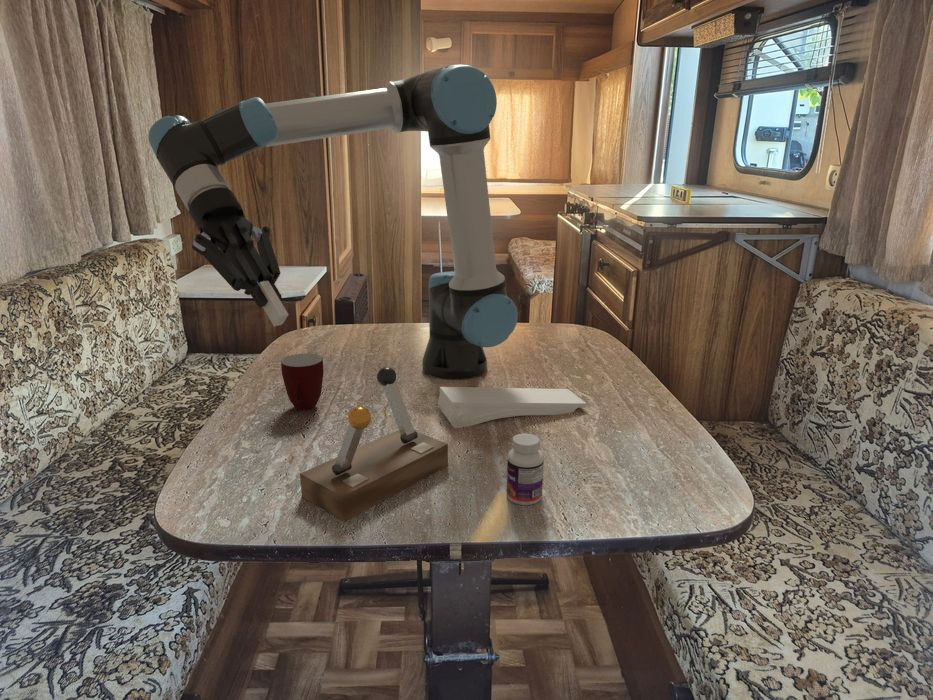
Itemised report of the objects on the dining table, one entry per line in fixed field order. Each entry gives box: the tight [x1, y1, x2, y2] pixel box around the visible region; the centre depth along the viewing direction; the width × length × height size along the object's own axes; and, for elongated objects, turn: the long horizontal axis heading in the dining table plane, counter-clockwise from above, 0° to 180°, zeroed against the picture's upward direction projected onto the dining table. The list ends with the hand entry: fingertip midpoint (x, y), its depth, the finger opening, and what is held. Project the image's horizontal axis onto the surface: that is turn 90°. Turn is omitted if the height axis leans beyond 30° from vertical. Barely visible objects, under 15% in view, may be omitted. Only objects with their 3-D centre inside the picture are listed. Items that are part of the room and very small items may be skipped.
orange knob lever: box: [332, 406, 372, 475], centre depth 96 cm, size 3×3×13 cm
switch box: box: [299, 429, 449, 522], centre depth 105 cm, size 10×22×4 cm, turn 139°
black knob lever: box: [376, 366, 418, 444], centre depth 109 cm, size 3×3×13 cm
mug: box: [280, 353, 325, 411], centre depth 131 cm, size 10×8×10 cm
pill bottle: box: [506, 432, 545, 506], centre depth 99 cm, size 5×5×10 cm
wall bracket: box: [437, 386, 587, 429], centre depth 132 cm, size 10×7×28 cm
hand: (281, 320), depth 100 cm, fingers closed
